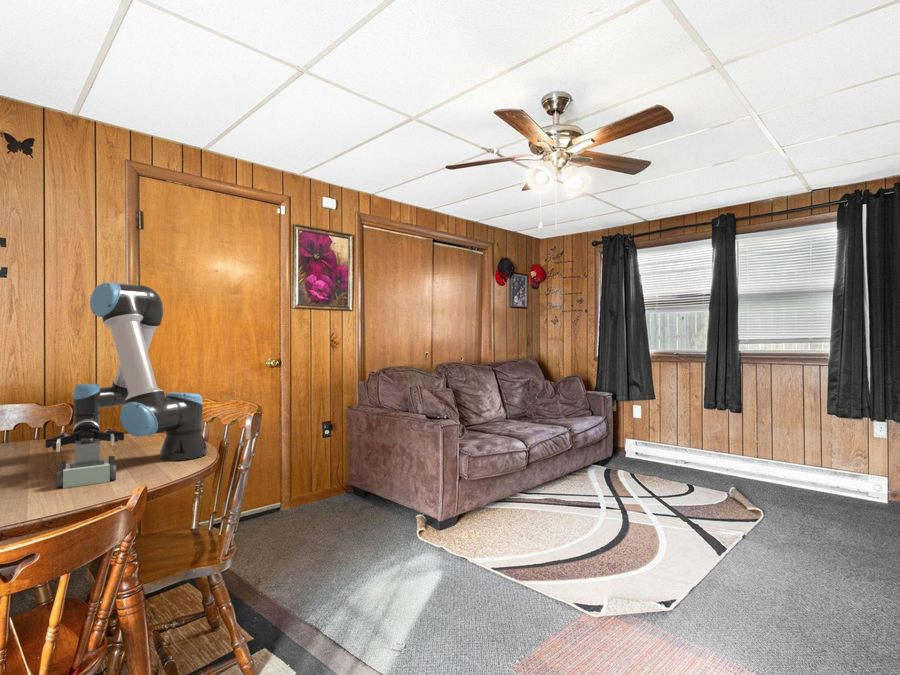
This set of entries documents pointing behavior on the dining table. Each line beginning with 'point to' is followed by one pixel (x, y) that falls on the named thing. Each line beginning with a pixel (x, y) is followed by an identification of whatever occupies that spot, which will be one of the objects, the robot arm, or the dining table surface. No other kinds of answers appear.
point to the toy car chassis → (85, 473)
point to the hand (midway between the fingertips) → (86, 444)
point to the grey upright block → (87, 452)
